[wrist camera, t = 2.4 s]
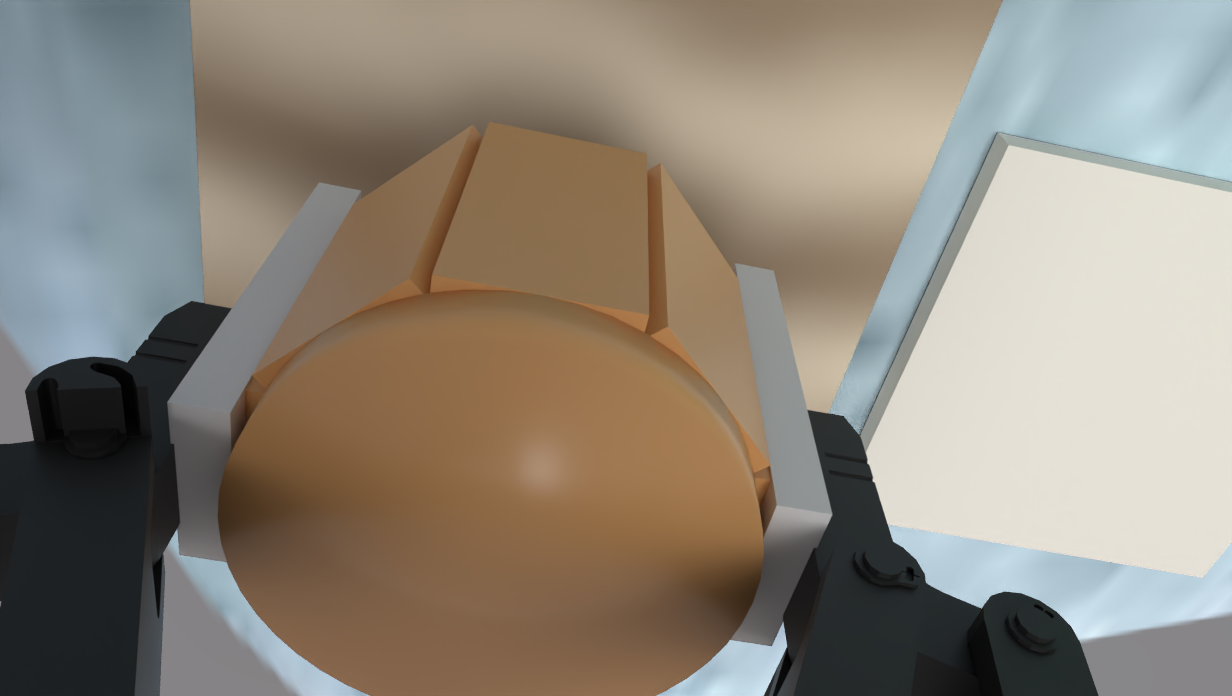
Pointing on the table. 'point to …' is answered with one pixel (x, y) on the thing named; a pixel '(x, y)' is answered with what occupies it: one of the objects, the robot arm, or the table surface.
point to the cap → (506, 434)
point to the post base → (602, 120)
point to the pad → (1070, 366)
